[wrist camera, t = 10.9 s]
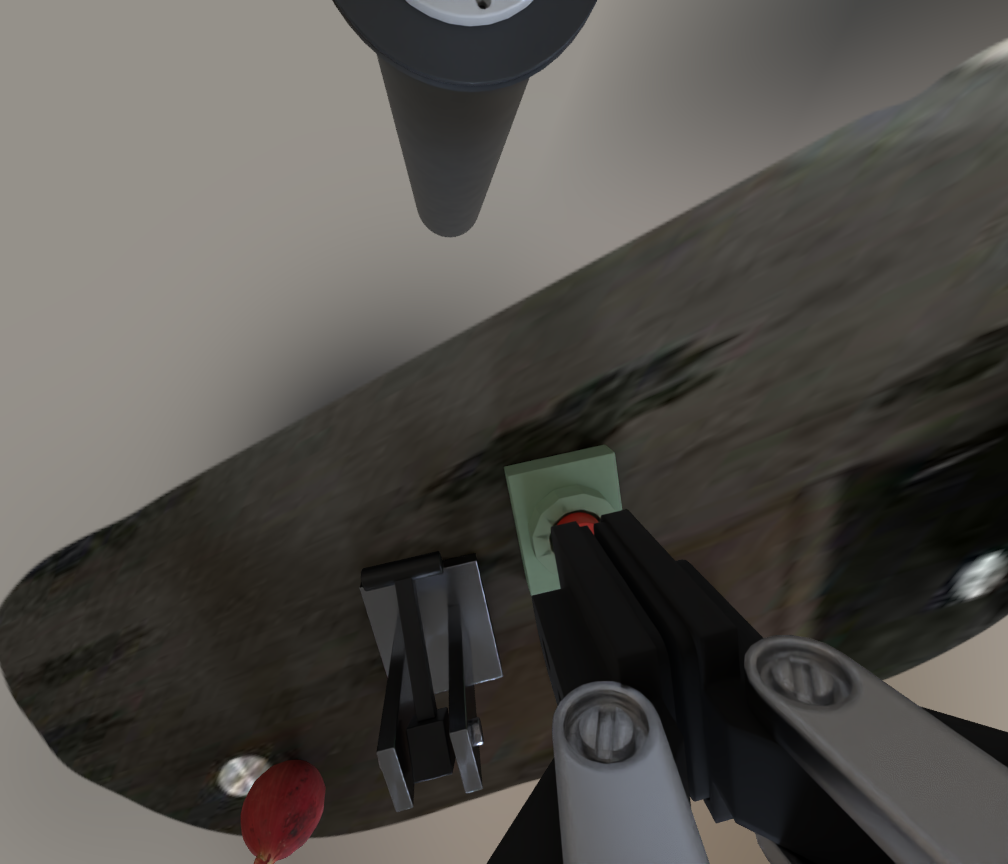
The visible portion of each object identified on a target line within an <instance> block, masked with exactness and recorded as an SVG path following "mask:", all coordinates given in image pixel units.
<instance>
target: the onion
mask: <svg viewBox="0 0 1008 864" xmlns="http://www.w3.org/2000/svg"><path fill="white" fill-rule="evenodd" d="M324 796H325V785H324V782H323V779H322V777H321V775H320V773H319V771H318V769H317V768H315V767H314V766H313V765H311V764H310V763H308V762H307V761H303V760H297V759H295V760H287V761H285V762H282V763H279V764H276V765H274V766H272V767H270V768H269V769H268V770H267V771H266V772H264V773H263V774H262V775H261V776H260V777H259V778H258V779H257V780H256V781H255V782H254V784H253V785H252V787H251V789H250V791H249V793H248V795H247V797H246V799H245V801H244V803H243V807H242V812H241V828H242V835H243V839H244V841H245V844H246V845H247V847H248V849H249V850H250V851H251V853H252V854H253V855H255V856H256V859H255V861H254V864H274V863H275V862H276V861H277V860H281V859H284V858H286V857H288V856H289V855H291V854H292V853H293V852H294V851H295V850H297V849H298V848H300V847H301V846H302V845H303V844H304V843H305V842H306V841H307V840H308V838H309V837H310V835H311V834H312V832H313V831H314V829H315V827H316V826H317V824H318V822H319V820H320V818H321V815H322V812H323V806H324Z"/></svg>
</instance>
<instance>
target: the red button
mask: <svg viewBox="0 0 1008 864" xmlns="http://www.w3.org/2000/svg"><path fill="white" fill-rule="evenodd" d="M573 521H576V522H577V523H578V525H579V526H580V527H582V526H586V525H587V526H588V527H589V528H590V530H591V531H592V533H593V534H594V529H593V525H594V524H595V523H599V522H598V521H597V519H596V518H594V517H593V516H592V515H590V514H587V513H582V512H576V513H572V514H569V515H567V516H565V517H564V518H562V519H561V520H560V521H559V522H558V523H557V525H560V524H565V523H569V522H573Z"/></svg>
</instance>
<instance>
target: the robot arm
mask: <svg viewBox="0 0 1008 864" xmlns="http://www.w3.org/2000/svg"><path fill="white" fill-rule="evenodd" d="M405 1H407V2H408V3H409V4H410V5H411V6H413V7H415V8H416V9H418V10H420V11H421V12H423V13H425V14H426V15H428V16H430V17H432V18H435V19H438V20H441V21H443V22H446V23H449V24H456V25H463V26H479V25H490V24H493V23H496V22H499V21H502V20H505V19H508V18H510V17H511V16H513V15H515V14H516V13H518V12H519V11H521V10H523V9H524V8H526V7H527V6H528V5H529V4H530V3H531V2H532V1H533V0H405ZM480 5H483V6H485V7H486V9H481V8H480V7H479V6H480ZM593 529H594V534H593V533H592V531H591V530H590V528H589V527H588V526H587V525H586V526H582V527H580V526H579V525H578V523H577V522H576V521H573V522H569V523H565V524H560V525H556V526H552V527H551V537H552V543H553V548H554V554H555V560H556V565H557V571H558V577H559V582H560V588H561V589H558V590H554V591H550V592H545V593H541V594H537V595H533V596H532V603H533V608H534V613H535V618H536V623H537V628H538V633H539V638H540V642H541V647H542V651H543V655H544V659H545V663H546V667H547V670H548V674H549V677H550V681H551V684H552V688H553V691H554V695H555V698H556V702H557V705H558V707H557V709H556V711H555V713H554V716H553V726H552V735H553V747H554V758H553V760H552V762H551V763H550V765H549V766H548V768H547V769H546V771H545V773H544V774H543V776H542V777H541V779H540V780H539V782H538V784H537V785H536V787H535V788H534V790H533V792H532V793H531V795H530V796H529V798H528V800H527V801H526V802H525V804H524V806H523V807H522V809H521V810H520V812H519V813H518V815H517V817H516V818H515V820H514V821H513V823H512V824H511V826H510V828H509V829H508V831H507V832H506V834H505V836H504V837H503V839H502V840H501V842H500V843H499V845H498V846H497V848H496V850H495V851H494V853H493V854H492V856H491V857H490V859H489V861H488V862H487V864H710V863H709V860H708V857H707V854H706V852H705V849H704V846H703V843H702V840H701V837H700V834H699V831H698V828H697V825H696V822H695V820H694V816H693V814H692V811H691V804H690V797H691V799H692V800H693V801H699V800H702V799H703V800H704V802H705V804H706V806H707V807H708V809H709V811H710V813H711V815H712V817H713V819H714V821H715V822H716V823H719V822H723V821H726V820H729V819H734V820H735V822H736V823H737V824H739V825H741V826H743V827H745V828H747V829H749V830H751V831H753V832H755V834H756V838H757V842H758V844H759V846H760V848H761V849H762V851H763V853H764V854H765V856H766V858H767V859H768V861H769V862H770V863H771V864H1008V732H1005V731H1002V730H998V729H995V728H992V727H988V726H985V725H981V724H978V723H975V722H971V721H968V720H964V719H961V718H957V717H954V716H951V715H947V714H944V713H941V712H937V711H934V710H930V709H927V708H923V707H920V706H918V705H917V704H915V703H914V702H912V701H911V700H909V699H908V698H907V697H905V696H904V695H902V694H901V693H899V692H898V691H896V690H895V689H894V688H892V687H891V686H889V685H888V684H887V683H885V682H884V681H882V680H881V679H879V678H878V677H876V676H875V675H874V674H872V673H871V672H869V671H868V670H866V669H865V668H864V667H862V666H861V665H859V664H858V663H856V662H855V661H853V660H852V659H851V658H849V657H848V656H846V655H845V654H843V653H842V652H840V651H838V650H836V649H834V648H833V647H831V646H829V645H827V644H825V643H822V642H819V641H816V640H813V639H810V638H805V637H799V636H794V635H775V636H771V637H767V638H763V637H762V636H761V635H760V634H759V633H758V632H757V631H756V630H755V629H754V628H753V627H752V626H751V625H750V624H749V623H748V622H747V621H746V620H745V619H744V618H743V617H742V616H741V615H740V614H739V613H738V612H737V611H736V610H735V609H734V608H733V607H732V606H731V605H730V604H729V602H728V601H727V600H726V599H725V598H724V597H723V596H722V595H721V594H720V593H719V592H718V591H717V590H716V589H715V588H714V587H713V586H712V585H711V584H710V583H709V582H708V581H707V580H706V579H705V578H704V577H703V576H702V575H701V574H700V573H699V572H698V571H697V570H696V569H695V568H694V567H693V566H692V565H691V564H690V563H689V562H688V561H686V560H678V561H675V560H674V559H673V558H672V557H671V556H670V555H669V554H668V553H667V551H666V550H665V549H664V548H663V547H662V546H661V545H660V544H659V543H658V542H657V541H656V540H655V538H654V537H653V536H652V535H651V534H650V533H649V532H648V531H647V530H646V529H645V528H644V527H643V525H642V524H641V523H640V522H639V521H638V520H637V519H636V518H635V517H634V516H633V515H632V514H631V512H630V511H628V510H627V509H625V510H621V511H617V512H612V513H608V514H604V515H601V522H599V523H595V524H594V525H593Z"/></svg>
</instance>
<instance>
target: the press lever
mask: <svg viewBox="0 0 1008 864" xmlns="http://www.w3.org/2000/svg"><path fill="white" fill-rule="evenodd" d="M443 572H444V569H443V562H442V557H441V554H440V552H439V551H437V552H432V553H428V554H424V555H419V556H415V557H411V558H406V559H402V560H398V561H393V562H389V563H385V564H380V565H376V566H372V567H367V568H363V569H362V571H361V581H362V586H363V588H364V590H365V591H371V590H375V589H379V588H384V587H388V586H392V585H395V589H396V595H397V601H398V607H399V613H400V620H401V626H402V632H403V638H404V644H405V651H406V657H407V663H408V669H409V675H410V682H411V688H412V694H413V700H414V707H415V713H416V715H414V716H413V717H412V719H411V721H410V723H409V725H408V727H407V728H406V734H407V740H408V747H409V753H410V760H411V766H412V773H413V779H414V783H419V782H423V781H426V780H430V779H434V778H438V777H441V776H445V775H449V774H452V773H453V768H454V763H455V758H456V757H455V753H454V749H453V746H452V742H451V739H450V735H449V714H448V708H447V707H445V708H441V709H437V708H436V702H435V696H434V690H433V684H432V679H431V673H430V667H429V661H428V655H427V649H426V644H425V638H424V632H423V626H422V620H421V614H420V609H419V603H418V597H417V591H416V585H415V580H418V579H422V578H426V577H431V576H435V575H439V574H443Z"/></svg>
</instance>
